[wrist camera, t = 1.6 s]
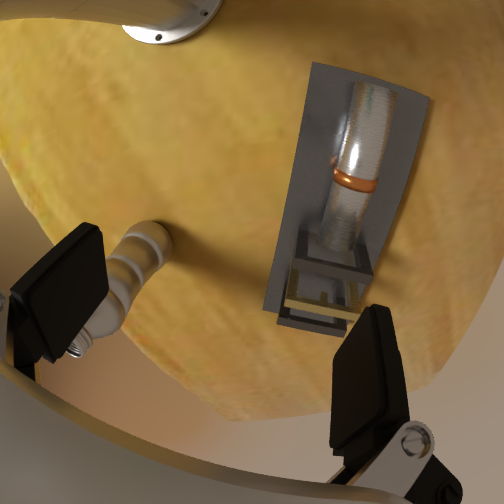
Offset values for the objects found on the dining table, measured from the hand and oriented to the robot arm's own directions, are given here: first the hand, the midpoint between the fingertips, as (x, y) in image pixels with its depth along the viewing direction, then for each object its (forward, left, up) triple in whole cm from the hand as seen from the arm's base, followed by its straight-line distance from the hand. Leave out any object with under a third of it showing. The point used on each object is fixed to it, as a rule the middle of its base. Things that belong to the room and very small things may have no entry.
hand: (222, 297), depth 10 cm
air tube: (0, +7, -22) cm, 23 cm away
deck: (+6, +7, -23) cm, 25 cm away
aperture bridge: (+13, +7, -22) cm, 26 cm away
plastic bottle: (+15, -15, -24) cm, 32 cm away
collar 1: (+9, +7, -22) cm, 25 cm away
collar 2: (+17, +7, -22) cm, 29 cm away
